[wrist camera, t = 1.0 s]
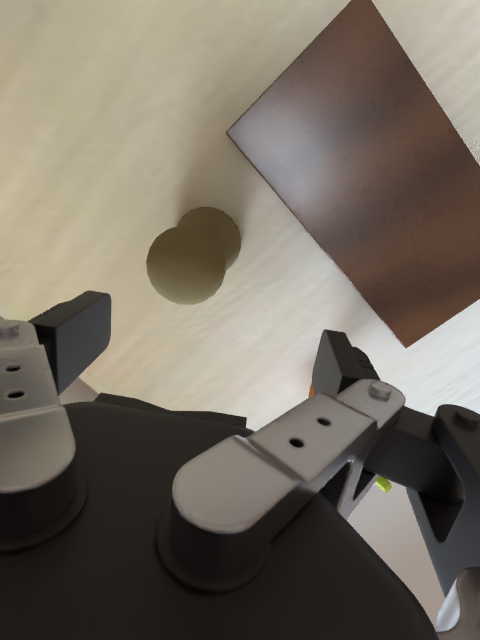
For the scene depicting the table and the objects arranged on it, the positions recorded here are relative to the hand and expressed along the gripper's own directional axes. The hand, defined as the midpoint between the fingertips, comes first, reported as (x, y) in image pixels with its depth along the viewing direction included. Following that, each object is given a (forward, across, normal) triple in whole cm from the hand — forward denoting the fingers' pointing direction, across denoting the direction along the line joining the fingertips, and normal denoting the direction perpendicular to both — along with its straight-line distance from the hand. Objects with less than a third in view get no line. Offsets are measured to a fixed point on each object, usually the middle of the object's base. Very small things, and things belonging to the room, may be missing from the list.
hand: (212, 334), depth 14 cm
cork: (+21, +4, 0) cm, 21 cm away
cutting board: (+20, -10, -6) cm, 24 cm away
